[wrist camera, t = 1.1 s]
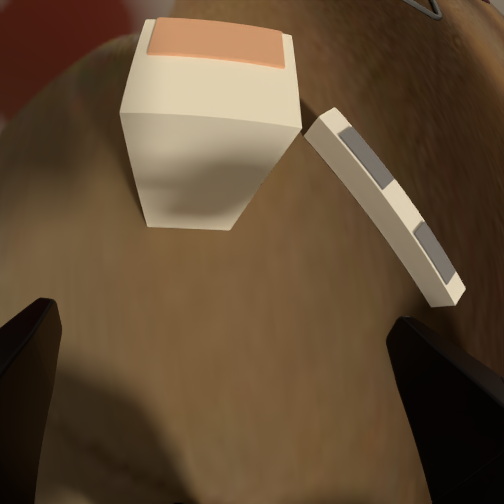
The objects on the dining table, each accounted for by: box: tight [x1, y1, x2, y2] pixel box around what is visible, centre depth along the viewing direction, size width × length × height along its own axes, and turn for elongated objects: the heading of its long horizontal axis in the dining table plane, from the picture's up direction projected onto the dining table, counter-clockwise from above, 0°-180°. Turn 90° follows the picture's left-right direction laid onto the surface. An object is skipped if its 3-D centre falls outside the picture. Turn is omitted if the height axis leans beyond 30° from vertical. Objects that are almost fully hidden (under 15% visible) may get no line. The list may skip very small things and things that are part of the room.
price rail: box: [304, 107, 466, 307], centre depth 24 cm, size 2×18×3 cm, turn 41°
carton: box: [120, 18, 302, 230], centre depth 15 cm, size 5×6×13 cm
